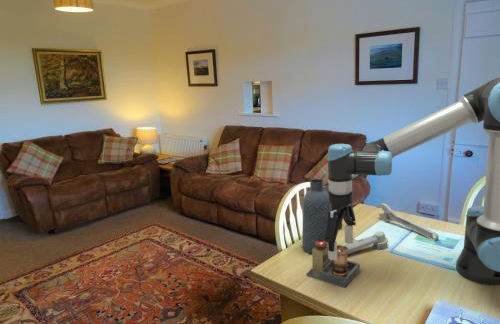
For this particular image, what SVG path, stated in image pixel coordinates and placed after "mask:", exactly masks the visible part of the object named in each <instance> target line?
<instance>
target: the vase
mask: <svg viewBox="0 0 500 324" xmlns="http://www.w3.org/2000/svg"><path fill="white" fill-rule="evenodd" d="M324 183H325V181H324V180H323V179H319V178H313V179H311V180H310V181H309V190H307V192H306V193H305V194H304V196H303V200H302V201H303V202H302V233H301V234H302V236H301V237H302V238H301V239H302V240H301V242H302V243H301V245H302V249H303V250H304V252H306V253H308V254H311V255H312V249H313V248H314V247H315V246H316V245H315V240H317V239H325V234H326V228H327V222H328V212H329V211H332V204H330V203H329V194H328V193H327V192H326V191H325V190H324V187H325V184H324Z"/></svg>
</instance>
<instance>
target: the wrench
mask: <svg viewBox="0 0 500 324" xmlns="http://www.w3.org/2000/svg"><path fill="white" fill-rule="evenodd" d="M376 208H379V209H382V210H383V213H378V216H379V217H380V218H381V219H382V220H384V221H385V223H388V224H389V223H391V222H396V223H397V224H400V225H402V226H404V227H406V228H408V229H409V230H411V231H414V232H416V233H418V234H420V235H421V236H424V237H426V238H428V239H430V240H433V241H437V240H439V234H438V233H437V232H435V231H433V230H431V229H429V228H427V227H424V225H423V226H422V225H421V224H418V223H416V222H414V221H413V220H411V219H410V220H409V219H408V218H406V217H403V216H401V215H399V214H398V213H396V212H395V211H394V210H393V209H392V208H391V207H390V206H389V205H388V204H386V203H384V202H383V203H379V204H377V206H376ZM433 235H434V236H435V237H434V236H433Z"/></svg>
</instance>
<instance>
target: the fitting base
mask: <svg viewBox="0 0 500 324" xmlns="http://www.w3.org/2000/svg"><path fill="white" fill-rule="evenodd" d="M315 245H316V246H315V247H314V248H313V249H312V254H311V256H312V257H311V258H312V260H311V261H312V263H311V265H312V268H310V270H309V271H308V272H306V276H307V277H309V278H311V279H312V278H313V279H316V280H319V281H321V282H325V283H329V284H331V285H335V286H338V287H341V288H344V289H346V287H347V286H348V285H349V283H350V282H351V281H352V280H353V278H355V276H356V275H357V274H358V273H359V271H360V269H361V267H360V266H361V263H359V262H355V261H351V260H348V259H347V269H348V275H347V276H345V277H340V276H337V275H334V274H332V259H328V242H325V241H324V239H317V240H315Z"/></svg>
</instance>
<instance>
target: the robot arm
mask: <svg viewBox="0 0 500 324" xmlns="http://www.w3.org/2000/svg"><path fill="white" fill-rule="evenodd" d="M480 122H483V126H482V129H483V131H484V132H485V133H487V134H488V143H487V144H488V145H487V146H488V147H487V161H486V174H485V185H484V198H483V199H484V201H483V205H474V206H470V207H469V208H468V209H467V210H466V215H465V217H466V219H465V228H464V229H465V230H464V242H463V248H462V250H461V251H460V254H459V255H458V258H457V259H456V263H455V264H456V265H455V269H456V271H457V273H458V274H460V276H462V277H464V278H465V279H468V280H470V281H472V282H476V283H477V284H478V283H479V284H482V285H493V286H495V285H496V286H497V285H500V77H498V78H494V79H491V80H489V81H487V82H485V83H484V84H482V85H480V86H478V87H477V88H474V89H473V90H471V91H469V92H467V93H466V94H463V95H461V96H460V98H459V100H458V101H456V102H454V103H452V104H450V105H448V106H446V107H443V108H441V109H439V110H437V111H434V113H433V112H432V113H431V114H429V115H427V116H425V117H423V118H421V119H418V120H417V121H414V122H412V123H409V124H408V125H406V126H404V127H402V128H399V129H398V130H396V131H394V132H392V133H389V134H388V135H386V136H383V137H382V138H379V139H377V140H373V141H369V142H367V143H366V144H365V145H364V147H363V148H362V150H360V151H358V150H356V151H355V150H353V148H352V147H353V146H352V145H350V144H346V143H334V144H331V145H330V146H329V147H328V149H327V150H328V151H327V175H328V176H327V177H328V180H327V183H328V186H329V191H330V192H329V203H330V204H332V205H333V211H329V212H328V222H327V228H326V234H325V239H324V241H325V242H328V259H330V260H331V259H332V260H337V245H338V241H337V240H336V239H337V237H338V233H339V230H340V229H339V226H340V223H342V224H343V221H344V223H345V224H344V243H346V244H348V243H351V244H353V242H354V226H357V225H356V224H357V223H356V216H355V212H354V207H353V192H352V191H353V175H357V176H360V175H362V176H363V175H364V176H379V177H381V176H389V175H391V174H392V172H393V171H392V170H393V158H395V157H397V156H399V155H402V154H403V153H404V154H405V153H407V152H408V151H411V150H412V149H415V148H417V147H419V146H422V145H424V144H426V143H428V142H430V141H432V140H435V139H437V138H439V137H441V136H444V135H447V134H448V133H450V132H452V131H455V130H457V129H459V128H460V129H461V127H464V126H466V125H468V124H470V123H472V124H473V123H474V124H479V123H480Z"/></svg>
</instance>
